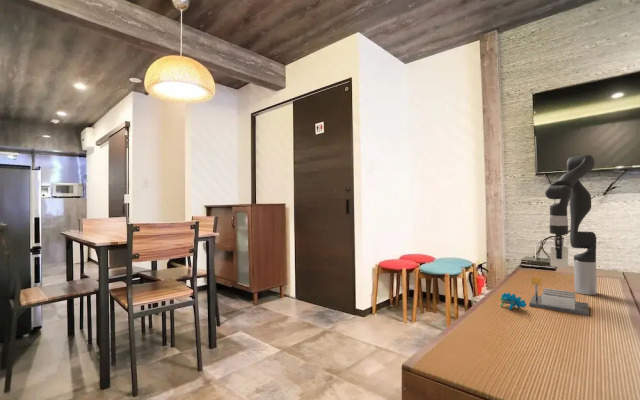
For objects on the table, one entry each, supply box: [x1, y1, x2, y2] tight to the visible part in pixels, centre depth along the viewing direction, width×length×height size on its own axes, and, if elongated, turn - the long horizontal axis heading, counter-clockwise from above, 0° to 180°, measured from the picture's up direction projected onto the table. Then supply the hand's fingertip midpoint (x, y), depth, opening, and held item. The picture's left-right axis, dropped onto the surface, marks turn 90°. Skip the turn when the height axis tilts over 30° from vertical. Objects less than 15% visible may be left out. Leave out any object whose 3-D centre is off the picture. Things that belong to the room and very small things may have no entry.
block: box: [549, 245, 569, 269], centre depth 160 cm, size 2×7×10 cm, turn 50°
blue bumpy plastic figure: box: [499, 292, 527, 311], centre depth 144 cm, size 11×6×10 cm
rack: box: [528, 276, 590, 317], centre depth 148 cm, size 17×21×12 cm
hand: (559, 258), depth 160 cm, fingers closed on block, 2 cm apart
